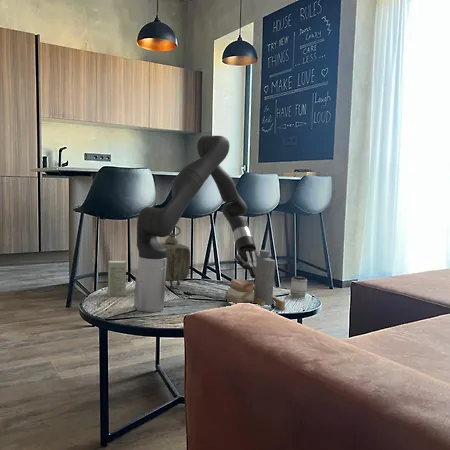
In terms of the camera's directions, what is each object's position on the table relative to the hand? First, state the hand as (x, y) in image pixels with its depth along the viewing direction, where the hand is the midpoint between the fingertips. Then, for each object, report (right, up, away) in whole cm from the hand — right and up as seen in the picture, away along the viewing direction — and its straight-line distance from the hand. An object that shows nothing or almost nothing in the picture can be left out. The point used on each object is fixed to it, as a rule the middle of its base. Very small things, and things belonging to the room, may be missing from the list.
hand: (255, 277), depth 171 cm
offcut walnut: (-6, -9, -9) cm, 14 cm away
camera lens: (+18, -9, +10) cm, 23 cm away
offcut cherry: (-6, -3, -10) cm, 12 cm away
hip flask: (+2, -9, -7) cm, 12 cm away
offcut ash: (-6, -6, -10) cm, 13 cm away
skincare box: (-51, -5, -9) cm, 52 cm away
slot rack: (0, -8, -1) cm, 9 cm away
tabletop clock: (-34, -5, +7) cm, 35 cm away
